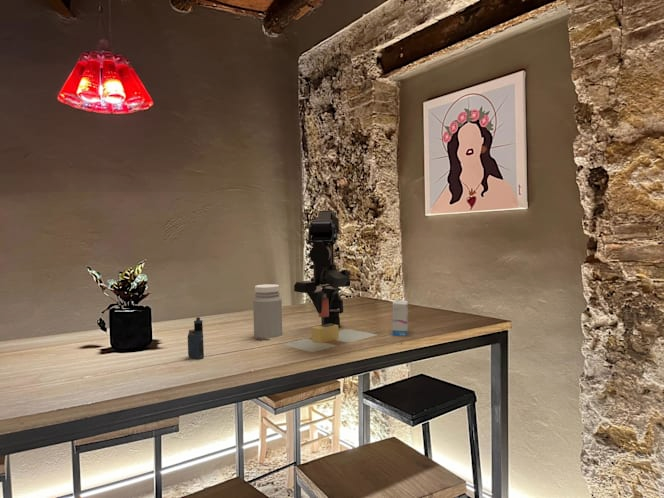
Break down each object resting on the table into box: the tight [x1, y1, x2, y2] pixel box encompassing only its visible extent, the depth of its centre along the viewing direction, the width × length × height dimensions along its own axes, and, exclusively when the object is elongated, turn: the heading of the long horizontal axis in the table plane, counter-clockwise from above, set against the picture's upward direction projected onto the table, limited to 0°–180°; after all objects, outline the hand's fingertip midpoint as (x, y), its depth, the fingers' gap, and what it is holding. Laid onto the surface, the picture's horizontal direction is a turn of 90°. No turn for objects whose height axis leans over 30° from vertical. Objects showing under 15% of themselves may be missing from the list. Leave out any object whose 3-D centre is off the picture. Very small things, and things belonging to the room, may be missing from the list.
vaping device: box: [187, 316, 205, 360], centre depth 141 cm, size 3×5×12 cm, turn 58°
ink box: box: [392, 299, 409, 337], centre depth 163 cm, size 9×5×12 cm, turn 168°
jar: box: [252, 283, 283, 341], centre depth 165 cm, size 10×10×18 cm
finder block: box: [311, 324, 339, 343], centre depth 155 cm, size 4×8×5 cm, turn 134°
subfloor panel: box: [280, 328, 377, 353], centre depth 156 cm, size 14×30×1 cm, turn 134°
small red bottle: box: [318, 293, 329, 318], centre depth 147 cm, size 3×3×7 cm
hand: (323, 312), depth 147 cm, fingers closed on small red bottle, 3 cm apart
